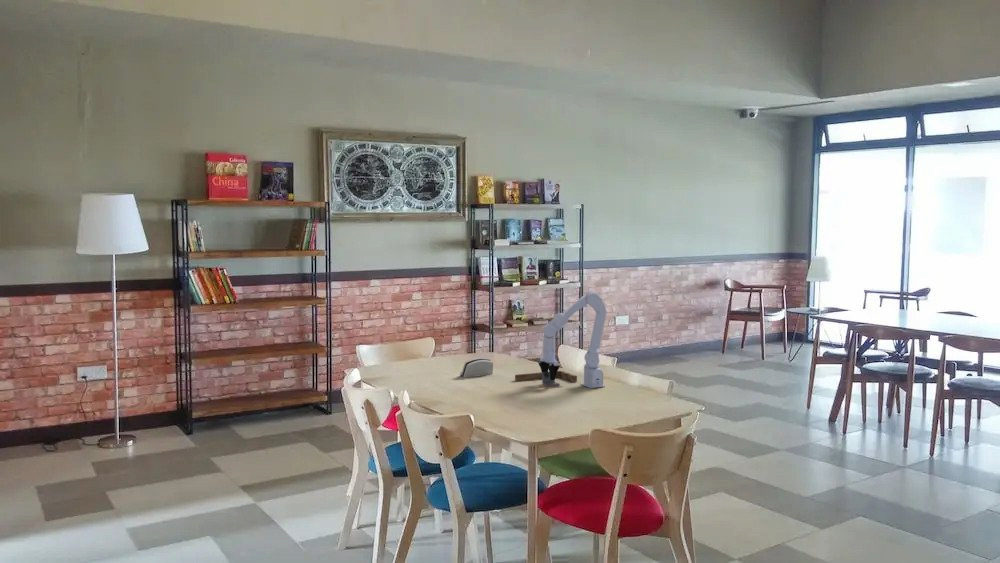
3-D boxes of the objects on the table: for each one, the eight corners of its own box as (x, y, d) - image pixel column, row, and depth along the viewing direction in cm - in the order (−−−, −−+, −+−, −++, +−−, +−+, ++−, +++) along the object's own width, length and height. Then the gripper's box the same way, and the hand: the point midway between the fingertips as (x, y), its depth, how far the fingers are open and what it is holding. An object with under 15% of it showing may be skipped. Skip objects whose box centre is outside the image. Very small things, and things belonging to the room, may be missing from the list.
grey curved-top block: (487, 372, 419) (491, 355, 415) (492, 376, 415) (495, 359, 412) (459, 375, 410) (462, 358, 406) (463, 380, 406) (467, 362, 403)
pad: (562, 386, 384) (562, 386, 384) (547, 388, 380) (547, 387, 380) (554, 383, 391) (554, 383, 391) (539, 385, 388) (539, 384, 388)
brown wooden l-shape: (576, 382, 395) (576, 375, 395) (528, 386, 384) (528, 380, 384) (561, 376, 408) (561, 370, 408) (515, 380, 398) (515, 374, 397)
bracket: (553, 383, 389) (553, 371, 389) (559, 386, 384) (559, 373, 383) (542, 384, 387) (542, 372, 386) (548, 387, 381) (548, 374, 381)
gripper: (534, 348, 391) (534, 376, 392) (548, 352, 378) (548, 382, 379) (547, 347, 394) (547, 375, 395) (562, 351, 381) (562, 380, 382)
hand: (548, 378), depth 387 cm, fingers open, 7 cm apart
